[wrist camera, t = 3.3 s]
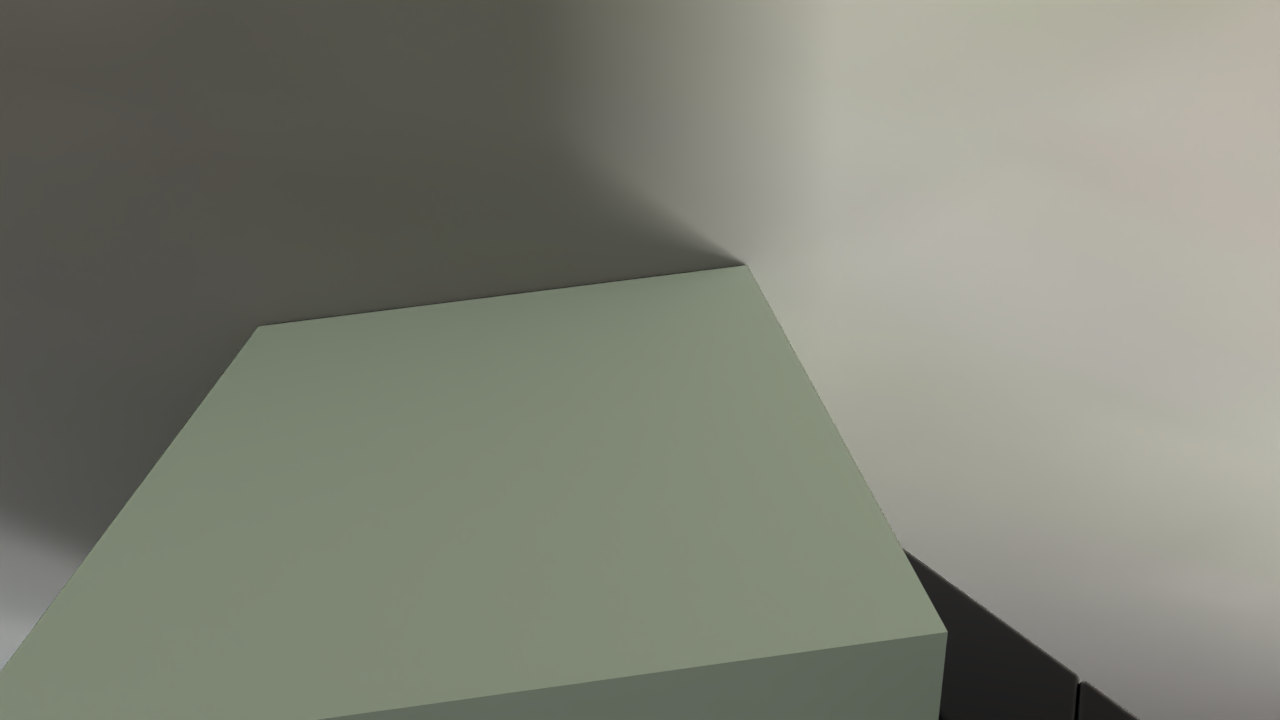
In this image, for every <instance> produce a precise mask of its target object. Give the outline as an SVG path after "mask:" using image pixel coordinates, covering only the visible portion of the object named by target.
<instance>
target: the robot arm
mask: <svg viewBox="0 0 1280 720" xmlns="http://www.w3.org/2000/svg"><path fill="white" fill-rule="evenodd" d="M902 549H903V548H902ZM903 551H904V553H905V555H906V556H907V558H908V560H909V562H910V564H911V566H912V567H913V569H914V571H915V573H916V575H917V577H918V578H919V580H920V582H921V584H922V586H923V588H924V589H925V591H926V593H927V595H928V597H929V598H930V600H931V602H932V604H933V606H934V608H935V609H936V611H937V613H938V615H939V617H940V619H941V620H942V622H943V624H944V626H945V628H946V630H947V631H948V634H947V644H946V653H945V662H944V672H943V681H942V691H941V700H940V710H939V719H938V720H1140V719H1138V718H1137V717H1135V716H1134V715H1132V714H1131V713H1129V712H1128V711H1127V710H1125V709H1124V708H1122V707H1121V706H1120V705H1118V704H1117V703H1115V702H1114V701H1113V700H1111V699H1110V698H1109V697H1107V696H1106V695H1104V694H1103V693H1102V692H1100V691H1099V690H1098V689H1096V688H1095V687H1093V686H1092V685H1091V684H1089V683H1088V682H1081V683H1080V684H1079V677H1078V676H1077V675H1076V674H1075V673H1074V672H1072V671H1071V670H1069V669H1068V668H1067V667H1065V666H1064V665H1063V664H1061V663H1060V662H1058V661H1057V660H1056V659H1054V658H1053V657H1052V656H1050V655H1049V654H1047V653H1046V652H1045V651H1043V650H1042V649H1041V648H1039V647H1038V646H1036V645H1035V644H1034V643H1032V642H1031V641H1030V640H1028V639H1027V638H1025V637H1024V636H1023V635H1021V634H1020V633H1019V632H1017V631H1016V630H1014V629H1013V628H1012V627H1010V626H1009V625H1008V624H1006V623H1005V622H1003V621H1002V620H1001V619H999V618H998V617H997V616H995V615H994V614H992V613H991V612H990V611H988V610H987V609H986V608H984V607H983V606H981V605H980V604H979V603H977V602H976V601H975V600H973V599H972V598H970V597H969V596H968V595H966V594H965V593H964V592H962V591H961V590H959V589H958V588H957V587H955V586H954V585H953V584H951V583H950V582H948V581H947V580H946V579H944V578H943V577H942V576H940V575H939V574H937V573H936V572H935V571H933V570H932V569H931V568H929V567H928V566H926V565H925V564H924V563H922V562H921V561H920V560H918V559H917V558H915V557H914V556H913V555H911V554H910V553H909V552H907V551H906V550H904V549H903Z"/></svg>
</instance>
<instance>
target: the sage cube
mask: <svg viewBox="0 0 1280 720" xmlns="http://www.w3.org/2000/svg"><path fill="white" fill-rule="evenodd" d="M947 634H948V631H947V630H946V628H945V626H944V624H943V622H942V620H941V619H940V617H939V615H938V613H937V611H936V609H935V608H934V606H933V604H932V602H931V600H930V598H929V597H928V595H927V593H926V591H925V589H924V588H923V586H922V584H921V582H920V580H919V578H918V577H917V575H916V573H915V571H914V569H913V567H912V566H911V564H910V562H909V560H908V558H907V556H906V555H905V553H904V551H903V549H902V547H901V545H900V544H899V542H898V540H897V538H896V536H895V534H894V533H893V531H892V529H891V527H890V525H889V524H888V522H887V520H886V518H885V516H884V514H883V513H882V511H881V509H880V507H879V505H878V503H877V502H876V500H875V498H874V496H873V494H872V492H871V491H870V489H869V487H868V485H867V483H866V481H865V480H864V478H863V476H862V474H861V472H860V470H859V469H858V467H857V465H856V463H855V461H854V460H853V458H852V456H851V454H850V452H849V450H848V449H847V447H846V445H845V443H844V441H843V439H842V438H841V436H840V434H839V432H838V430H837V428H836V427H835V425H834V423H833V421H832V419H831V417H830V416H829V414H828V412H827V410H826V408H825V406H824V405H823V403H822V401H821V399H820V397H819V396H818V394H817V392H816V390H815V388H814V386H813V385H812V383H811V381H810V379H809V377H808V375H807V374H806V372H805V370H804V368H803V366H802V364H801V363H800V361H799V359H798V357H797V355H796V353H795V352H794V350H793V348H792V346H791V344H790V342H789V341H788V339H787V337H786V335H785V333H784V331H783V330H782V328H781V326H780V324H779V322H778V321H777V319H776V317H775V315H774V313H773V311H772V310H771V308H770V306H769V304H768V302H767V300H766V299H765V297H764V295H763V293H762V291H761V289H760V288H759V286H758V284H757V282H756V280H755V278H754V277H753V275H752V273H751V271H750V269H749V267H748V266H747V265H744V266H736V267H728V268H720V269H712V270H704V271H696V272H688V273H680V274H672V275H664V276H656V277H648V278H640V279H632V280H624V281H616V282H608V283H600V284H592V285H584V286H576V287H568V288H560V289H552V290H544V291H536V292H528V293H520V294H512V295H504V296H497V297H489V298H481V299H473V300H465V301H457V302H449V303H441V304H433V305H425V306H417V307H409V308H401V309H393V310H385V311H377V312H369V313H361V314H353V315H345V316H337V317H329V318H321V319H313V320H305V321H297V322H289V323H281V324H273V325H265V326H258V328H257V329H256V330H255V332H254V333H253V334H252V336H251V337H250V338H249V340H248V341H247V342H246V344H245V345H244V346H243V348H242V349H241V350H240V352H239V353H238V355H237V356H236V357H235V359H234V360H233V361H232V363H231V364H230V365H229V367H228V368H227V369H226V371H225V372H224V373H223V375H222V376H221V377H220V379H219V380H218V381H217V383H216V384H215V385H214V387H213V388H212V389H211V391H210V392H209V393H208V395H207V396H206V397H205V399H204V400H203V401H202V403H201V404H200V405H199V407H198V408H197V409H196V411H195V412H194V413H193V415H192V416H191V417H190V419H189V420H188V421H187V423H186V424H185V425H184V427H183V428H182V429H181V431H180V432H179V434H178V435H177V436H176V438H175V439H174V440H173V442H172V443H171V444H170V446H169V447H168V448H167V450H166V451H165V452H164V454H163V455H162V456H161V458H160V459H159V460H158V462H157V463H156V464H155V466H154V467H153V468H152V470H151V471H150V472H149V474H148V475H147V476H146V478H145V479H144V480H143V482H142V483H141V484H140V486H139V487H138V488H137V490H136V491H135V492H134V494H133V495H132V496H131V498H130V499H129V500H128V502H127V503H126V504H125V506H124V507H123V508H122V510H121V511H120V513H119V514H118V515H117V517H116V518H115V519H114V521H113V522H112V523H111V525H110V526H109V527H108V529H107V530H106V531H105V533H104V534H103V535H102V537H101V538H100V539H99V541H98V542H97V543H96V545H95V546H94V547H93V549H92V550H91V551H90V553H89V554H88V555H87V557H86V558H85V559H84V561H83V562H82V563H81V565H80V566H79V567H78V569H77V570H76V571H75V573H74V574H73V575H72V577H71V578H70V579H69V581H68V582H67V583H66V585H65V586H64V587H63V589H62V590H61V592H60V593H59V594H58V596H57V597H56V598H55V600H54V601H53V602H52V604H51V605H50V606H49V608H48V609H47V610H46V612H45V613H44V614H43V616H42V617H41V618H40V620H39V621H38V622H37V624H36V625H35V626H34V628H33V629H32V630H31V632H30V633H29V634H28V636H27V637H26V638H25V640H24V641H23V642H22V644H21V645H20V646H19V648H18V649H17V650H16V652H15V653H14V654H13V656H12V657H11V658H10V660H9V661H8V662H7V664H6V665H5V666H4V668H3V669H2V671H1V672H0V720H938V719H939V710H940V700H941V691H942V681H943V672H944V662H945V653H946V644H947Z"/></svg>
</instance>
